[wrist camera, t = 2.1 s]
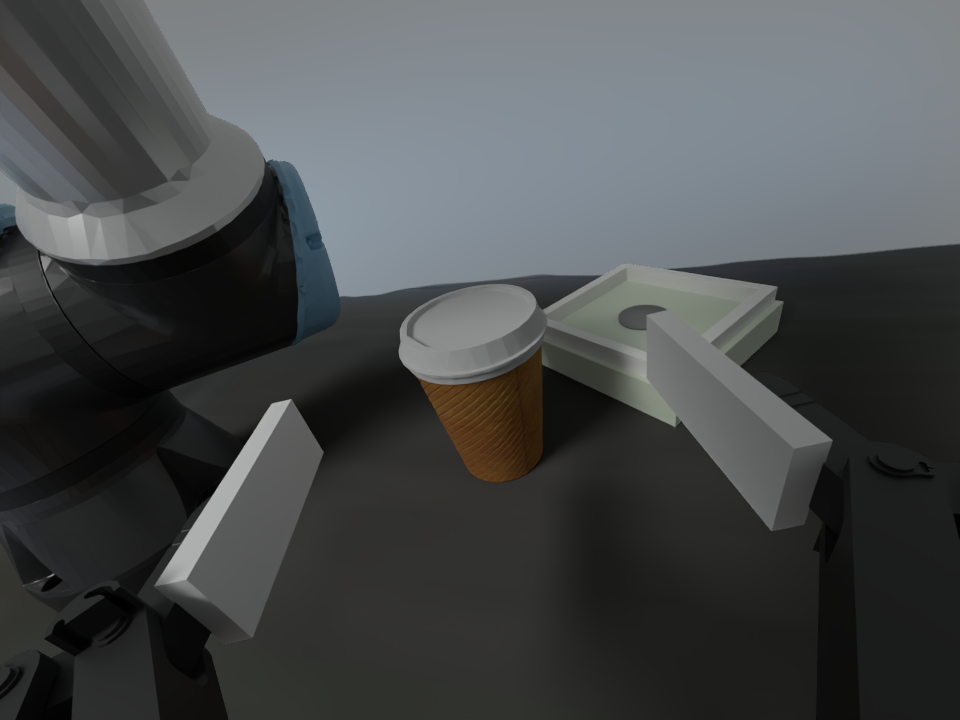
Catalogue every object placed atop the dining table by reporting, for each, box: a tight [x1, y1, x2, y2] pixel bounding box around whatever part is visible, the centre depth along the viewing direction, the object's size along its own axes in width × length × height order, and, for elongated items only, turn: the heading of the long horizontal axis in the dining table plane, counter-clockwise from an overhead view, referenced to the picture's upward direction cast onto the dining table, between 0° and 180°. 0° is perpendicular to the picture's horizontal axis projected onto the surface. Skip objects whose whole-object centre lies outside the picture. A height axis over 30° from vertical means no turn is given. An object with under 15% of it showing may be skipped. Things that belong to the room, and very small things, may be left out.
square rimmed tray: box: [542, 263, 784, 427], centre depth 36 cm, size 16×16×4 cm
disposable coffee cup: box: [399, 284, 547, 482], centre depth 27 cm, size 10×10×12 cm
